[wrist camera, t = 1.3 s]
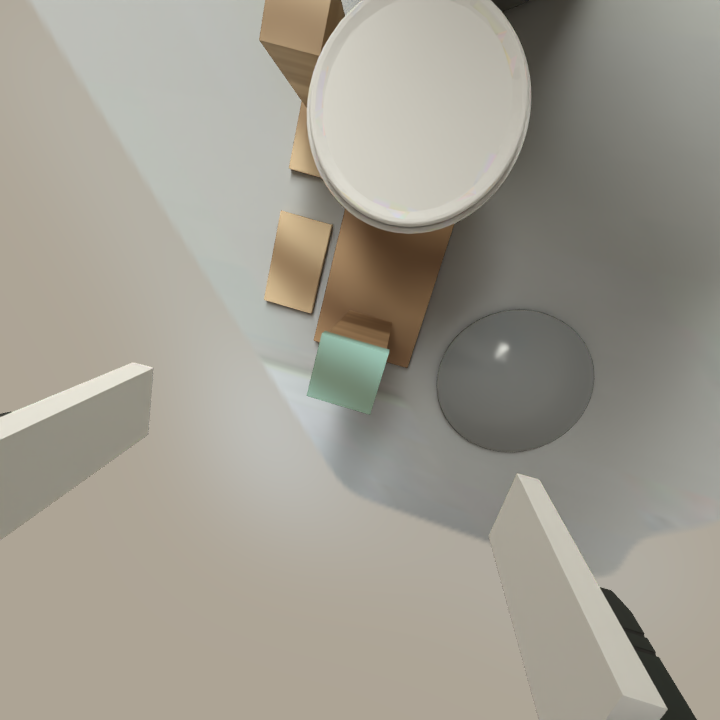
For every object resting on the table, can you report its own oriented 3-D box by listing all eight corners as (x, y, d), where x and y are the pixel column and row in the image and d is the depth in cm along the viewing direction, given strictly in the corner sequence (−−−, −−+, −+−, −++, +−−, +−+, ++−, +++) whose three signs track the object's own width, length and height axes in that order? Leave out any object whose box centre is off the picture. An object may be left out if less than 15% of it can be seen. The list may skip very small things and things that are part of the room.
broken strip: (311, 61, 26) (260, -42, 17) (367, 75, 26) (345, -20, 17) (266, 298, 31) (208, 318, 22) (312, 312, 31) (273, 337, 22)
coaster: (465, 291, 29) (466, 291, 29) (619, 334, 28) (622, 335, 28) (418, 425, 33) (418, 428, 32) (553, 466, 32) (555, 469, 32)
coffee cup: (368, 257, 29) (343, 261, 17) (328, 126, 26) (268, 29, 15) (493, 215, 27) (558, 188, 15) (461, 71, 25) (508, -87, 13)
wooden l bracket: (377, 79, 26) (358, -28, 16) (491, 109, 25) (544, 20, 16) (313, 343, 31) (271, 385, 22) (405, 370, 31) (405, 425, 21)
